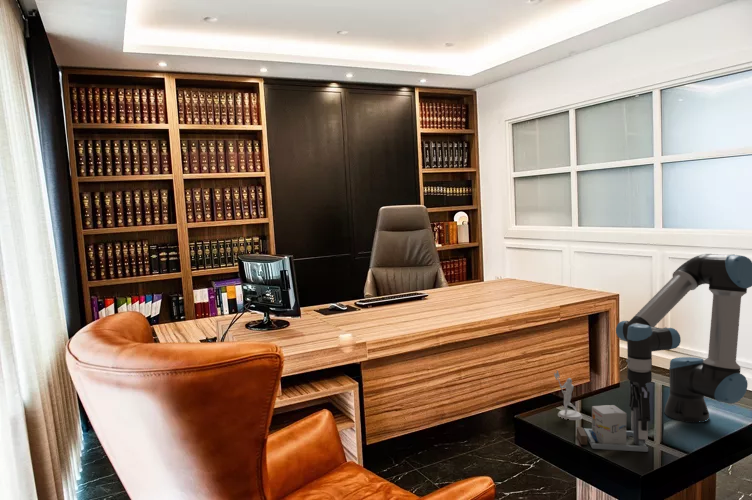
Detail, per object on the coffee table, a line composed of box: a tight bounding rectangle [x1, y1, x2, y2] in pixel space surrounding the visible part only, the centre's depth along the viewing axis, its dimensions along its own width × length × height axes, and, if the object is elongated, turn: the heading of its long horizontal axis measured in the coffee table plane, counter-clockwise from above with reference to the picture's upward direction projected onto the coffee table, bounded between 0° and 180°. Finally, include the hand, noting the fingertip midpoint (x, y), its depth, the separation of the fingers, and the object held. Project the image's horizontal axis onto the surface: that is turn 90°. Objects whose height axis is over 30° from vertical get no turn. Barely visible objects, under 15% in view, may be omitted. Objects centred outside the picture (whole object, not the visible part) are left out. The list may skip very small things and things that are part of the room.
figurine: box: [553, 370, 584, 421], centre depth 206 cm, size 10×10×18 cm
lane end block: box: [576, 426, 588, 446], centre depth 183 cm, size 2×8×3 cm, turn 169°
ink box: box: [591, 404, 628, 445], centre depth 181 cm, size 9×8×12 cm
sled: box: [583, 407, 649, 453], centre depth 180 cm, size 18×14×12 cm
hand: (639, 434), depth 179 cm, fingers open, 8 cm apart
